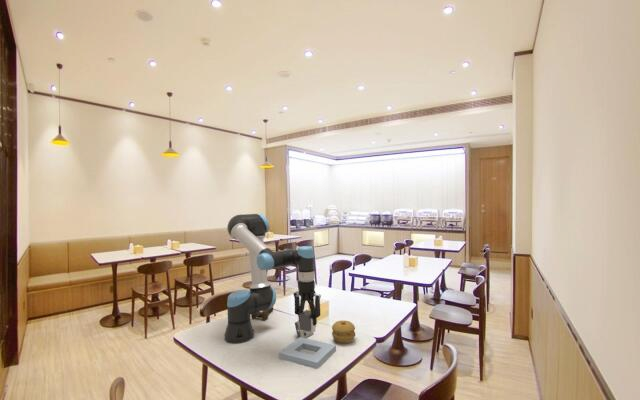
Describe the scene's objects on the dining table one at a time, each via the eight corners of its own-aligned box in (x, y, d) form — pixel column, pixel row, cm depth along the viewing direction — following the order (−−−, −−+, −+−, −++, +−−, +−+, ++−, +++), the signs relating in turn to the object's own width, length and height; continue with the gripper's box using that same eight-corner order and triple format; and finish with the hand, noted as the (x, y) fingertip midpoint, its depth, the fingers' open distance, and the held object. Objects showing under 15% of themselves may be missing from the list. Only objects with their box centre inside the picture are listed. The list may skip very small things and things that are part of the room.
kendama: (277, 313, 199) (261, 323, 180) (263, 312, 202) (247, 322, 183) (276, 303, 199) (261, 313, 180) (263, 303, 202) (247, 312, 183)
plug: (299, 332, 140) (299, 314, 140) (306, 328, 146) (306, 309, 146) (309, 334, 138) (308, 315, 138) (315, 329, 143) (315, 311, 143)
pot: (339, 348, 147) (338, 327, 147) (328, 338, 158) (327, 319, 158) (359, 343, 152) (359, 322, 152) (347, 334, 163) (347, 315, 163)
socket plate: (278, 358, 139) (278, 352, 139) (300, 342, 154) (300, 337, 154) (317, 368, 129) (317, 362, 129) (336, 350, 145) (335, 345, 145)
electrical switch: (302, 340, 156) (300, 321, 157) (294, 338, 160) (293, 320, 160) (314, 334, 164) (312, 316, 164) (306, 332, 167) (305, 315, 168)
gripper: (285, 280, 143) (287, 330, 143) (319, 283, 135) (321, 337, 134) (294, 276, 150) (295, 325, 149) (327, 280, 141) (329, 331, 141)
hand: (307, 330), depth 142 cm, fingers closed on plug, 5 cm apart
